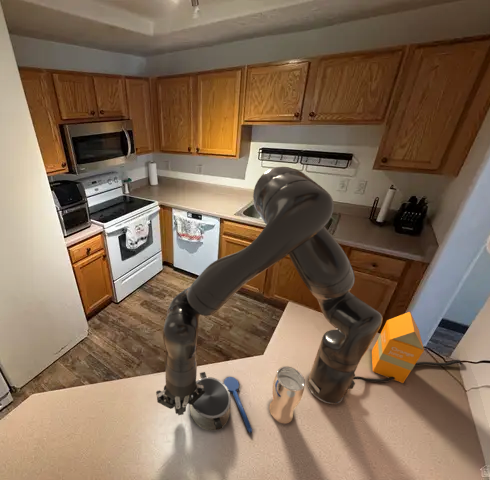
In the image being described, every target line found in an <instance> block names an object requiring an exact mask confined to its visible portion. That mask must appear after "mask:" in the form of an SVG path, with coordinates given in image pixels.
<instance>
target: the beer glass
mask: <svg viewBox="0 0 490 480" xmlns="http://www.w3.org/2000/svg"><path fill="white" fill-rule="evenodd" d="M305 386H306V380H305V377H304V376H303V374H302V373H301V372H300V371H299V370H298V369H296V368H295V367H292V366H289V365H283V366H281V367H279V368H278V369H277V370H276V374H275V377H274V380H273V384H272V401H271V402H270V404H269V412H270V415H271V416H272V418H273V419H274V420H275V421H277V422H278V423H280V424H289V423H291V421H292V420H293V418H294V410H295V408H297V406H298V405H299V404H300V402H301V400H302V398H303V395H304V391H305Z"/></svg>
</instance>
